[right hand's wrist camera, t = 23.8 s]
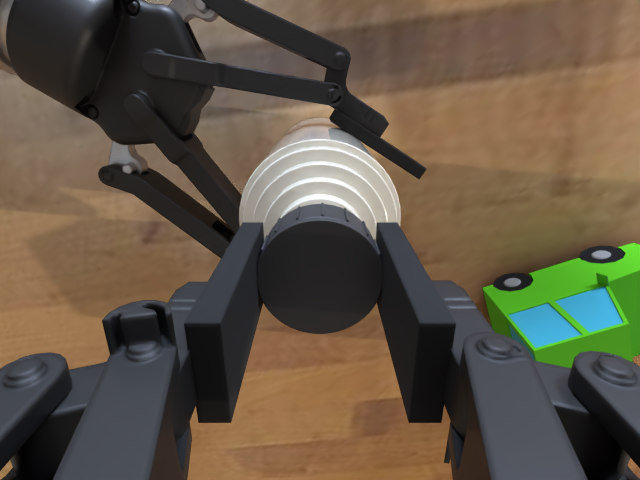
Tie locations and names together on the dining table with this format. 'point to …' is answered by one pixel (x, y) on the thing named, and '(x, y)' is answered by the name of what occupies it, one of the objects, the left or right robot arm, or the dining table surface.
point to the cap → (319, 269)
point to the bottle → (319, 178)
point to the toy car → (572, 306)
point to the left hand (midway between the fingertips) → (380, 221)
